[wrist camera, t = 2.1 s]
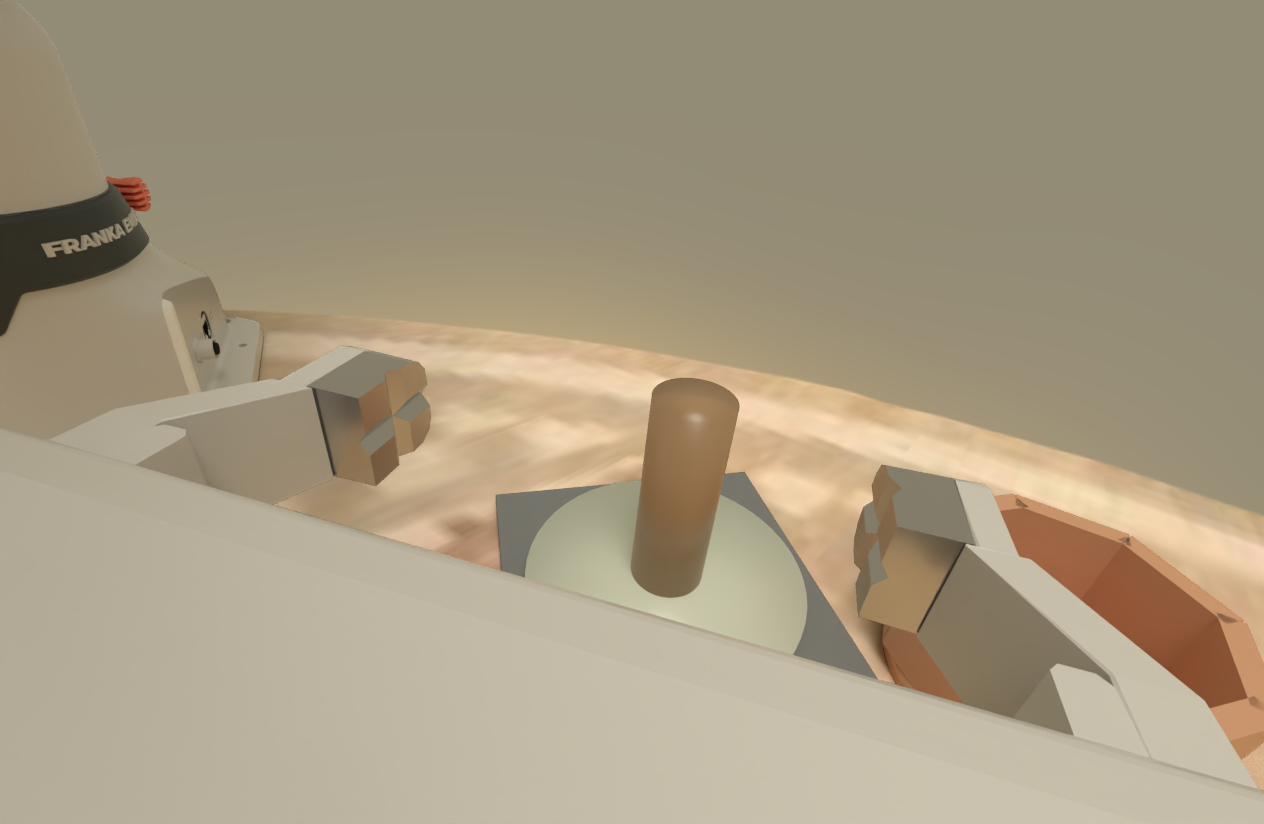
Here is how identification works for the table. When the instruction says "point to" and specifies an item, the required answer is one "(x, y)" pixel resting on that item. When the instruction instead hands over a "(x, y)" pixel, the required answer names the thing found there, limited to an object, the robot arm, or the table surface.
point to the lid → (679, 533)
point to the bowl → (1125, 616)
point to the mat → (822, 627)
